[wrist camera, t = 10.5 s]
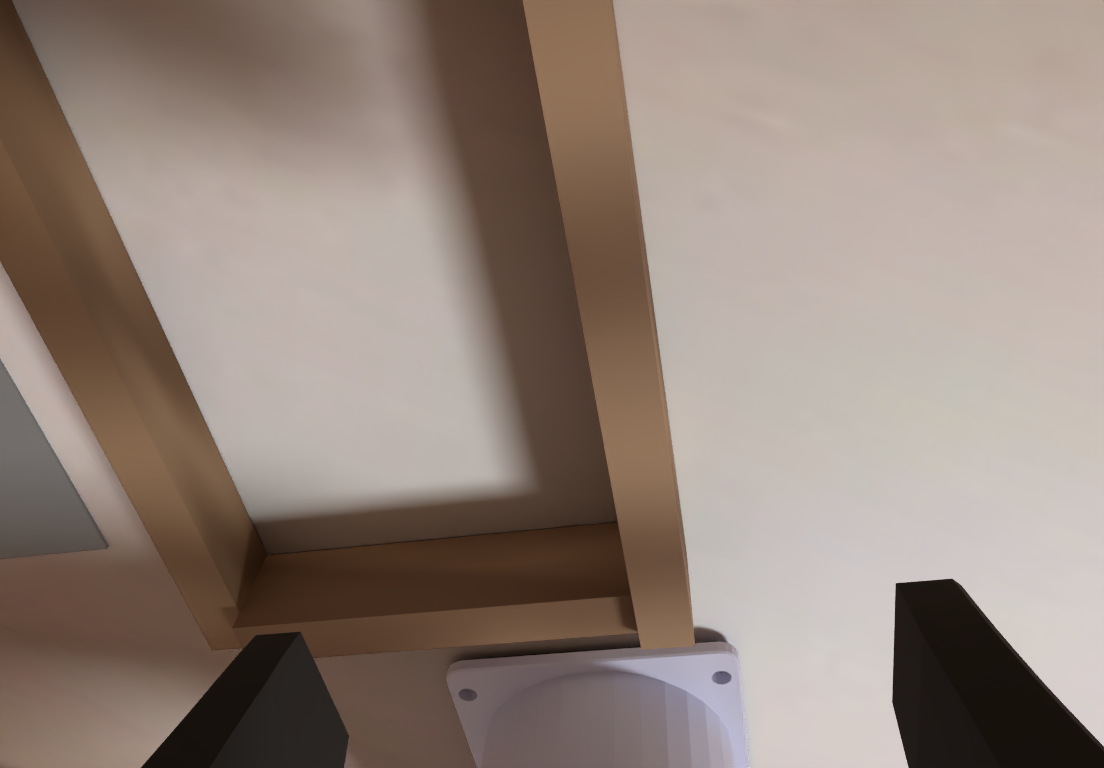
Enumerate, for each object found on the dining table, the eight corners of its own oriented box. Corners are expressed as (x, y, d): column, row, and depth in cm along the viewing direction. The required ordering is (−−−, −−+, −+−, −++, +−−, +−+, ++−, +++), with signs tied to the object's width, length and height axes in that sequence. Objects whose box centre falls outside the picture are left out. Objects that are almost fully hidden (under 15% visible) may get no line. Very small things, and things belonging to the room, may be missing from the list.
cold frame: (686, 552, 22) (695, 645, 20) (240, 592, 24) (195, 682, 22) (564, -359, 13) (552, -404, 10) (-145, -186, 15) (-303, -188, 12)
